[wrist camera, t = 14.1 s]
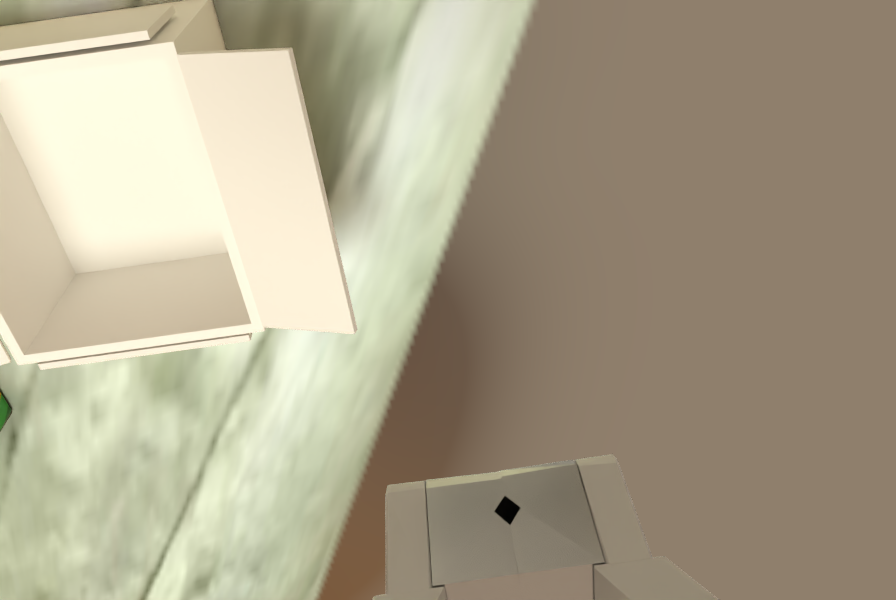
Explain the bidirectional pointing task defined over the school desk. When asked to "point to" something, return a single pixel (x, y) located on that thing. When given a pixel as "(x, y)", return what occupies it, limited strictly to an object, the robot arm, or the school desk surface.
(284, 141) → the flap
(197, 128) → the carton
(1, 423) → the chalk box
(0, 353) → the flap
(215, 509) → the school desk surface
